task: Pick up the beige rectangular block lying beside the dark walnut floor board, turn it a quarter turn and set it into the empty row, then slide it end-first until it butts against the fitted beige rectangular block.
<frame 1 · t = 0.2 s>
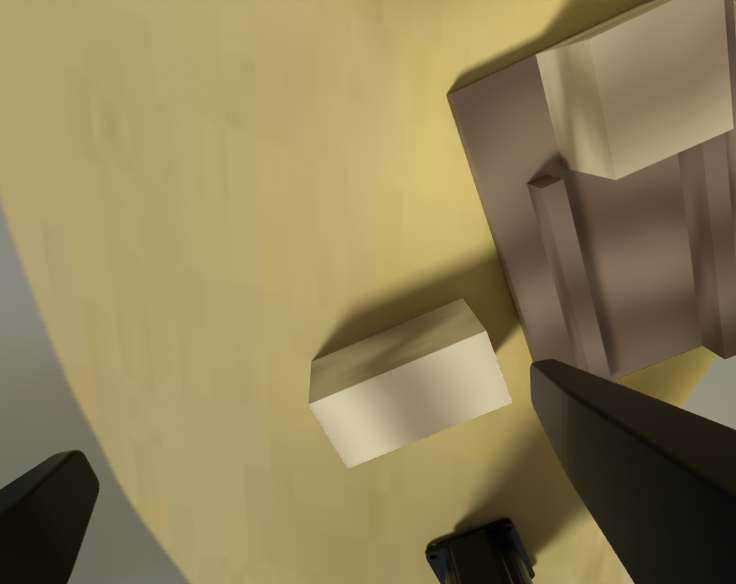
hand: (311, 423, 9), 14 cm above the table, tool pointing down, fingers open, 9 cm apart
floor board: (612, 220, 22), on the table
beige rectangular block: (400, 359, 25), on the table
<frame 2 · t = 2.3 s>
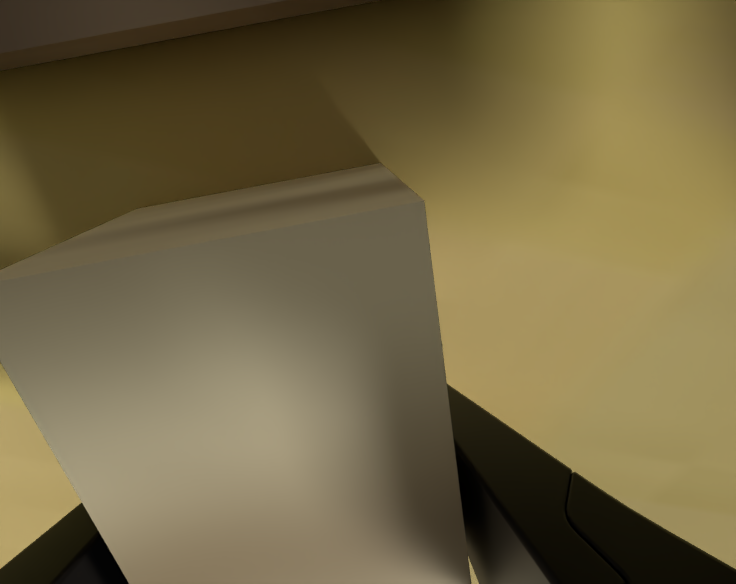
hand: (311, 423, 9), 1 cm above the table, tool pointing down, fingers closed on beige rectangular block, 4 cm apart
beige rectangular block: (313, 390, 9), on the table, touching gripper
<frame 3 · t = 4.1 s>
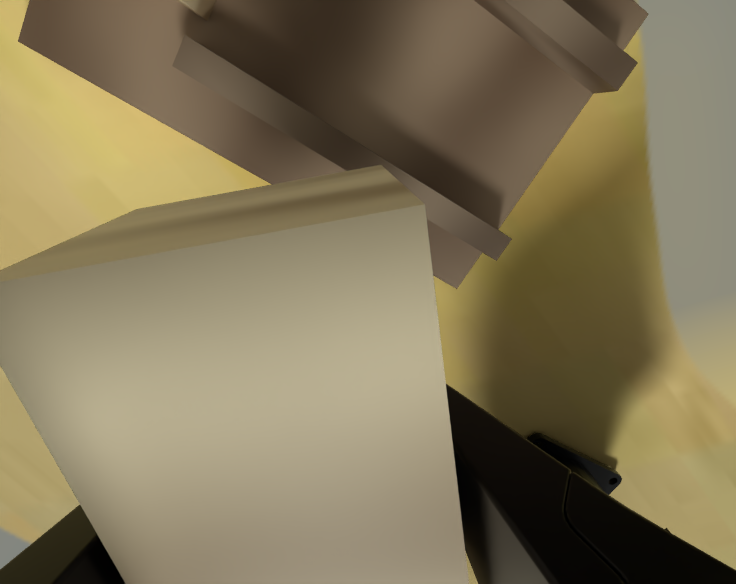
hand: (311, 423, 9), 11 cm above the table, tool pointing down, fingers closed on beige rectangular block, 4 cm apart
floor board: (344, 32, 16), on the table
beige rectangular block: (312, 391, 9), point 10 cm above the table, touching gripper
when the fingers open (3 cm above the table, at t = 6.3 s): beige rectangular block drops 1 cm, resting on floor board.
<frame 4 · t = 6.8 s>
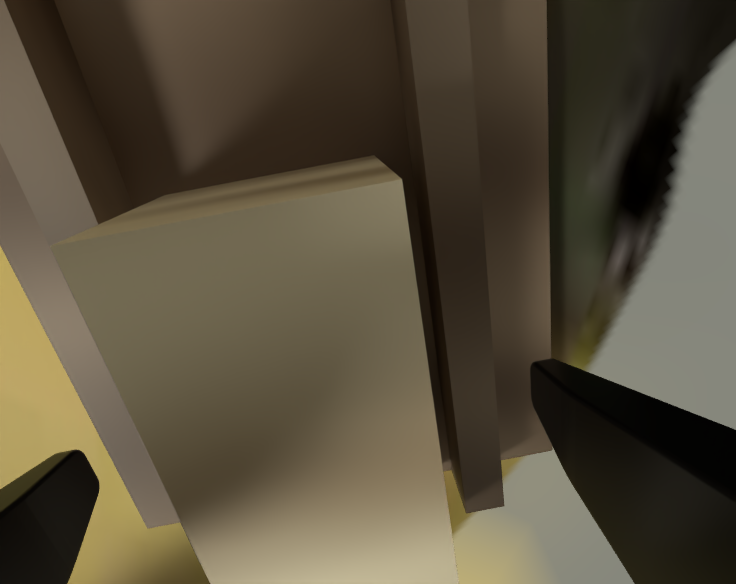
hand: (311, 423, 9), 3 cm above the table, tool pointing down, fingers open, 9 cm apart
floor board: (276, 171, 10), on the table
beige rectangular block: (315, 356, 11), point 1 cm above the table, touching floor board
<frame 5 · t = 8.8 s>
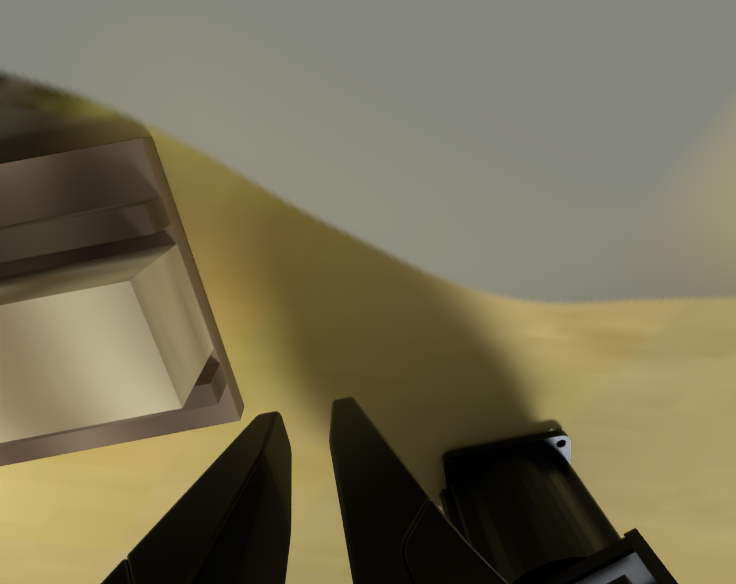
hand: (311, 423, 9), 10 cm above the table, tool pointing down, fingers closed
beige rectangular block: (82, 320, 17), point 1 cm above the table, touching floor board
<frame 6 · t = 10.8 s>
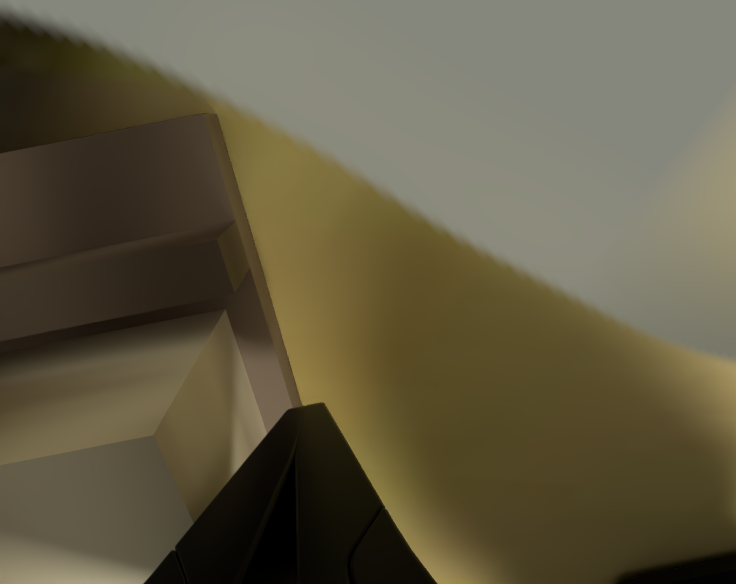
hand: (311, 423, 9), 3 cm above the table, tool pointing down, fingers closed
beige rectangular block: (64, 432, 10), point 1 cm above the table, touching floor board, gripper
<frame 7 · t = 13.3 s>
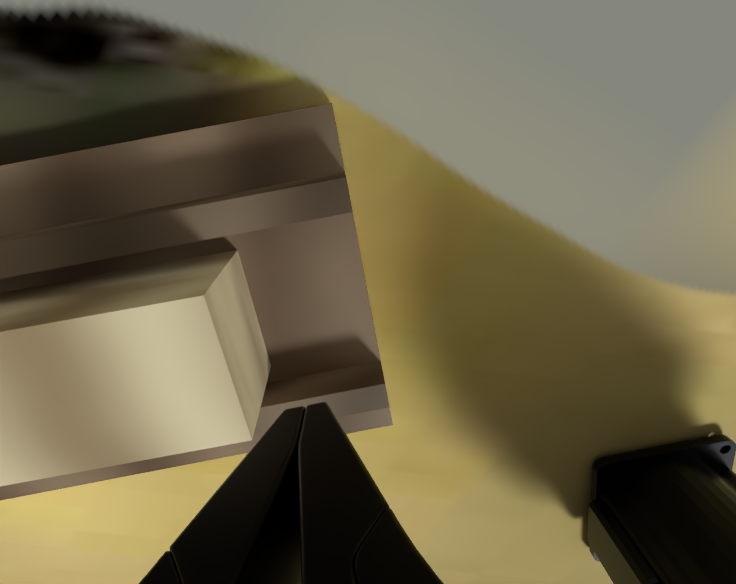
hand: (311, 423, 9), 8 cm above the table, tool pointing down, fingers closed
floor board: (125, 323, 16), on the table
beige rectangular block: (127, 334, 15), point 1 cm above the table, touching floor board
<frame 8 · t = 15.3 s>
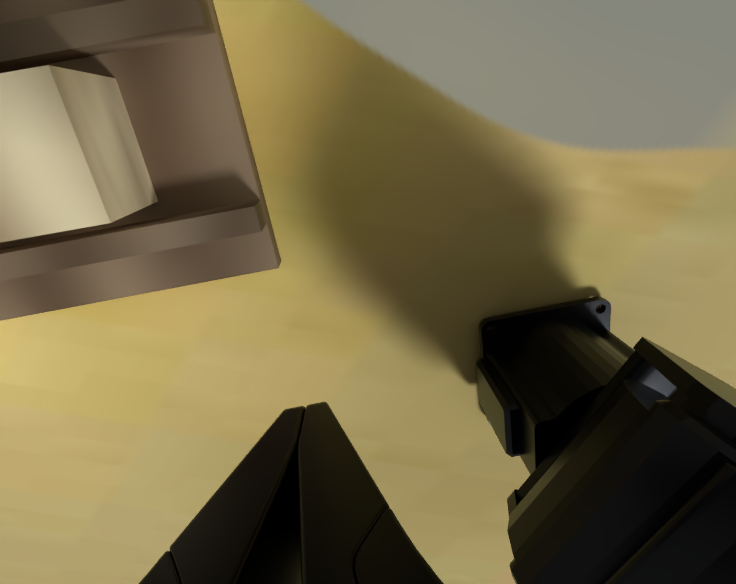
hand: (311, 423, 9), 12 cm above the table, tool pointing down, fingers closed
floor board: (25, 163, 17), on the table
beige rectangular block: (21, 163, 16), point 1 cm above the table, touching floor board
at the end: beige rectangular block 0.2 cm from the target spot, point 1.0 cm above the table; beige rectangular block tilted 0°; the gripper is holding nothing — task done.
